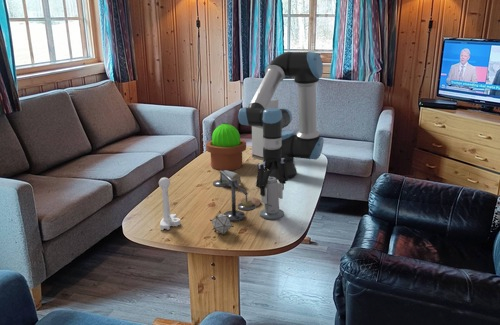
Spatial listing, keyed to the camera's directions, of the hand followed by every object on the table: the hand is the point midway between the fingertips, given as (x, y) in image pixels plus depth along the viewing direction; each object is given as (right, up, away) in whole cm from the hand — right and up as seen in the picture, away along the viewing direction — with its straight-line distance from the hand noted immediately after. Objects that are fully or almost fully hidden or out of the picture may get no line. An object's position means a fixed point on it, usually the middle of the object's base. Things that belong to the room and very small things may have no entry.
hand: (272, 200), depth 188 cm
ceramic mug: (-18, +4, +38) cm, 42 cm away
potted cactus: (-22, +13, +69) cm, 73 cm away
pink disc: (-10, -3, +14) cm, 17 cm away
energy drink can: (0, -5, +2) cm, 6 cm away
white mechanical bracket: (-41, -10, -6) cm, 43 cm away
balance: (-16, -7, 0) cm, 17 cm away
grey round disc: (0, -6, +2) cm, 7 cm away
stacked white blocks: (0, +19, +85) cm, 87 cm away
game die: (-20, -12, -14) cm, 27 cm away
